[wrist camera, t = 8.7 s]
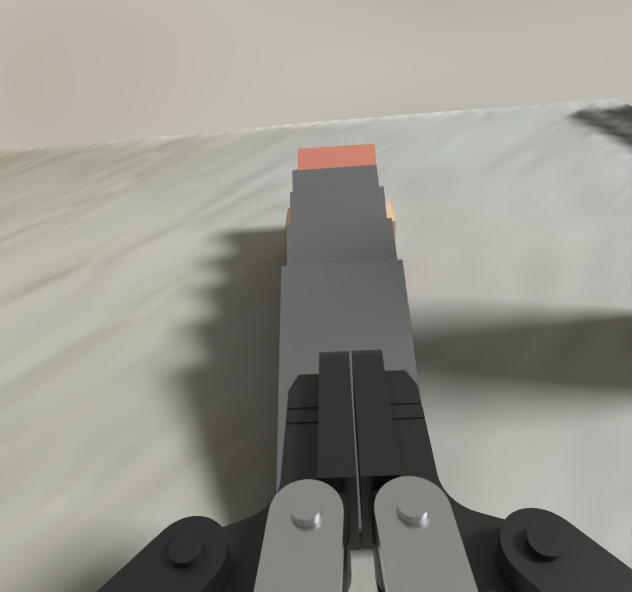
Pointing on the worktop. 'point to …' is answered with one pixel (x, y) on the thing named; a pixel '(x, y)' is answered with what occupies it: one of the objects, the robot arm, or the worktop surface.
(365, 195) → the domino
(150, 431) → the worktop surface
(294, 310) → the domino
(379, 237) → the domino
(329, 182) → the domino
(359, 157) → the domino
